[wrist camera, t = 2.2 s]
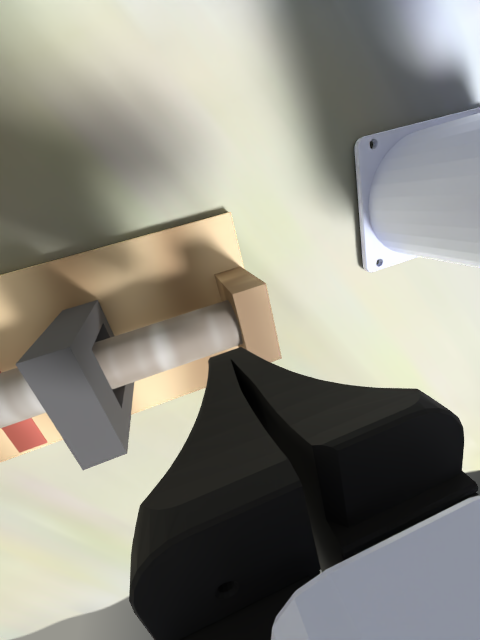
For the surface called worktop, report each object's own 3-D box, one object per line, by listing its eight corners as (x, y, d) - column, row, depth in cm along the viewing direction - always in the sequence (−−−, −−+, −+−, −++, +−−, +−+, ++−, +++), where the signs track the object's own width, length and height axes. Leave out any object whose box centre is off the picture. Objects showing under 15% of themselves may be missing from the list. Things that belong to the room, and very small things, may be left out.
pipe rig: (228, 212, 17) (256, 213, 12) (264, 361, 21) (294, 403, 16) (-183, 325, 14) (-346, 382, 9) (-49, 474, 18) (-118, 565, 13)
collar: (97, 299, 16) (69, 346, 10) (134, 379, 18) (127, 453, 13) (62, 310, 16) (15, 364, 10) (104, 390, 18) (82, 470, 12)
